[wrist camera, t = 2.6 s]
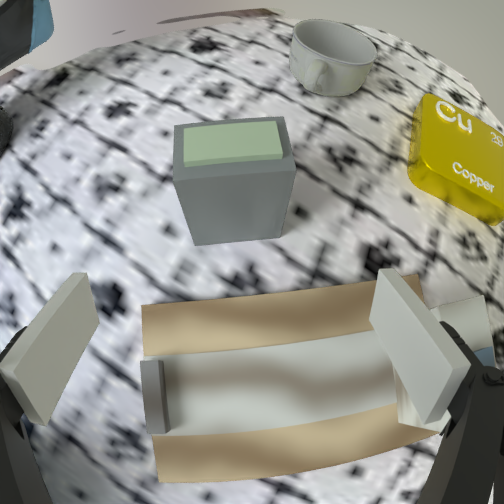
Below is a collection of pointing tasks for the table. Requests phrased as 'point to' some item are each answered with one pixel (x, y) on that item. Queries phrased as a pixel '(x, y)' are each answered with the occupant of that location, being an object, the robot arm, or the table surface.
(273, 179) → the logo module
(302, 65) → the teacup
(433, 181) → the element tile
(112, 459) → the table surface
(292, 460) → the rail plate
